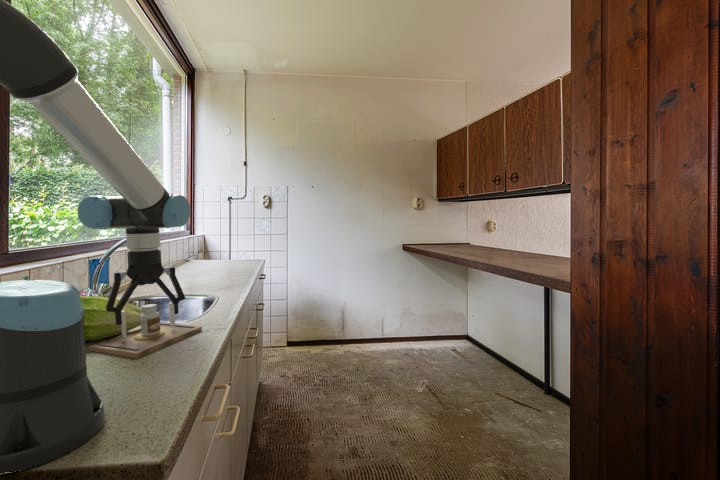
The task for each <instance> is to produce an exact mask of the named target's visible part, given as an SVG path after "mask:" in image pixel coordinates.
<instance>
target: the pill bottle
mask: <svg viewBox="0 0 720 480" xmlns="http://www.w3.org/2000/svg"><path fill="white" fill-rule="evenodd" d="M141 308H142V312H143V314H142V315H141V316H140V318H141V326H140V329H141V334H142V335H143V336H151V335H155V334H158V333H160V322H161V319H160V318H161V317H160V312H158V311H157V310H158V305H157V303H156V304H155V303H150V304H144V305H142V306H141Z"/></svg>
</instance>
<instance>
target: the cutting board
mask: <svg viewBox="0 0 720 480" xmlns="http://www.w3.org/2000/svg"><path fill="white" fill-rule="evenodd" d="M202 327H203V326H201V325H190V324H189V325H188V324H182V323H175V327H174V328H172V327H171V326H170V322H163V321H160V333H158V334H155V335H151V336H143V335H142V334H141V328H138V329H135V330H134V331H128V332H126V334H127V337H125V338H123V336H122V334H120V335H117V336H114V337H112V338H109V339H107V340H104V341H100V342H98V343H95V344H93V345H92V344H91V345H89V351H90V352H94V353H99V354H108V355H113V356H119V357H127V358H132V359H138V358H142V357H143V356H144V357H145V355H148V354H150V353H152V352H155V351H157V350H159V349H162V348H164V347H167V346H169V345H172V344H174V343H176V342H178V341H180V340H184V339H186V338H188V337H190V336H192V335H191V334H193V333H195V334H197V333H199V332H198V331H200V330H202ZM202 331H203V330H202ZM196 332H197V333H196ZM200 332H201V331H200ZM189 335H190V336H189ZM193 335H194V334H193ZM187 336H188V337H187ZM185 337H186V338H185Z"/></svg>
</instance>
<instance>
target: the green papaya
mask: <svg viewBox="0 0 720 480" xmlns="http://www.w3.org/2000/svg"><path fill="white" fill-rule="evenodd" d="M80 298H81V305H82V306H83V309H84V310H83V312H84V314H83V315H84V333H85V343H86V342H94V341H99V340H103V339H107V338H111V337H112V338H113V337H117V336H121V335H122V330H121V325H117V324H116V320H115V313H114V312H108V311H107V310H106V305H107V302H108V299H109V296H108V297H106V296H102V295H101V296H99V295H97V296H96V295H93V296H92V295H80ZM119 301H120V299H117V298H116V300H115V303H114V306H116V305H117V304H118V302H119ZM122 310H124V312H125V320H126V333H128V332H130V331H131V330H134V329H136V328H139V327H141V318H140V316H141V315H142V314H143V312H142V307H140V306H137V305H135V304H133V303H131V302H128V301H127V303H126V304H125V306H124V307H123V309H122Z"/></svg>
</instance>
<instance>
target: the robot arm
mask: <svg viewBox="0 0 720 480" xmlns="http://www.w3.org/2000/svg"><path fill="white" fill-rule="evenodd" d="M78 77H79V69H78V68H77V66H75V64H74V62H73V61H72V60H71V59H70V58H69V56H68V55H67V54H66V52H65V51H64V50H63V49H62V48H61V47H60V45H58V44H57V42H56V41H55V40H54V39H53V38H52V37H51V36H49V35H48V34H47V33H46V32H45V31H44V30H43V29H42V28H41V27H40V26H39V25H38V24H36V23H35V22H34V20H32V19H31V18H30V17H28V16H27V15H26V14H25V13H23V12H22V11H20V10H19V9H18V8H17V7H15V6H14V5H13V4H11V3H9V2H7V1H6V0H0V86H2V87H3V88H4V89H5V90H6V91H7V92H8V93H9V94H10V95H11V96H12V97H13V98H14V99H16V100H20V101H24V102H28V103H29V104H30V105H31V106H32V107H33V108H34V109H35V110H36V111H37V112H38V113H39V114H40V115H41V116H42V118H44V119H45V120H46V121H47V122H48V123H49V124H50V125H51V126H52V127H53V128H54V129H55V130H56V131H57V132H58V133H59V134H60V135H61V137H63V139H65V140H66V142H67V143H69V144H70V146H72V147H73V148H74V150H75V151H77V153H78V154H80V155H81V157H83V159H84V160H86V162H88V164H89V165H90V166H91V167H92V168H93V169H94V170H95V171H96V172H97V173H98V174H99V175H100V176H101V177H102V178H103V179H104V180H105V181H106V182H107V183H108V184H109V185H110V186H111V187H112V188H113V189H114V190H115V191H116V192H117V193H118V194H119V195H118V196H117V195H116V196H115V195H114V196H113V195H111V196H109V195H107V196H106V195H102V194H101V195H99V194H98V195H88V196H86V197H84V198H83V199H81V201H80V202H79V203H78V205H77V218H78V220H79V221H80V223H81V224H82V225H83V226H84V227H86V228H88V229H92V230H101V231H102V230H111V229H113V230H114V229H125V236H126V237H125V238H126V248H127V250H128V251H127V253H126V254H127V255H126V256H127V269H126V271H114V272H113V284H112V287H111V290H110V293H109V296H108V298H109V299H108V302H107V305H106V310H107V311H108V312H114V313H115V320H116V324H117V325H121V330H122V334H121V335H122V336H123V338H125V337H127V332H126V320H125V312H124V310H122V309H123V307H124V306H125V304H126V303H127V302H128V301H129V299H130V298H131V296H132V294H133V293H134V292H135V290H136V288H137V287H138V286H145V285H154V284H156V285H158V287H159V288H160V290H162V292H163V293H164V294H165V295H166V296H167V297H168V298H169V300H170V301H171V302H168V312H169V313H168V315H169V323H170V326H171V327H172V328H174V327H175V324H176V318H175V317H176V316H175V315H178V314H179V312H180V311H179V303H180V302H181V301H184V300H185V299H186V296H185V294H184V292H183V290H182V286H181V284H180V282H179V280H178V278H177V275H176V267H174V266H173V265H169V266H165V267H163V265H162V255H161V254H162V251H161V249H160V248H161V238H160V237H161V235H160V229H163V228H164V229H171V228H179V227H183V226H186V225H187V223H189V219H190V218H191V214H192V212H191V211H192V210H191V205H190V201H189V200H188V199H187V197H185V196H184V195H182V194H175V193H169V192H168V191H167V189H166V188H165V187H164V186H163V185H162V183H161V182H160V180H158V178H157V177H156V176H155V175H154V173H153V172H152V171H151V170H150V169H149V167H148V166H147V165H146V163H145V162H144V161H143V159H142V158H141V157H140V156H139V155H138V154H137V152H136V151H135V149H133V147H132V145H131V144H129V143H128V141H127V140H126V138H125V137H124V136H123V135H122V133H120V131H119V130H118V128H117V127H116V126H115V125H114V124H113V122H112V121H111V120H110V119H109V117H108V116H107V115H106V114H105V112H104V111H103V110H102V109H101V108H100V106H99V104H98V103H96V101H95V100H94V99H93V97H92V96H91V95H90V94H89V93H88V91H87V90H86V89H85V87H84V86H83V85H82V84H81V82H80V81H79V80H78ZM164 272H165V274H166V275H168V277H169V280H170V282H171V284H172V286H173V289H174V290H175V293H176V295H177V296H175V294H174V293H173V292H172V291H171V290H170V289H169V288H168V286H167V285H166V284H165V283H164V281H163V280H162V279H161V278H160V277H161V276H162V275H163V273H164ZM126 276H127V277H128V278H129V279H130V283H129V284H128V286H127V288H126V290H125V292H123V293H122V296H121V298H120V299H119V300H120V301H119V302H118V304H117V305H116V306H114V303H115V300H116V299H117V297H118V293H119V290H120V288H121V284H122V283H121V282H122V281H124V280H125V277H126ZM1 279H2V278H1V277H0V473H5V472H15V471H19V472H23V471H25V470H24V469H26V470H29V469H28V468H30V469H33V468H37V467H38V466H41V465H44V464H46V463H48V461H49V462H51V461H53V460H56V459H57V458H60V457H62V456H64V455H65V454H69V453H70V452H72V451H75V450H76V449H77V448H78V447H80V446H82V445H83V444H85V443H86V442H87V441H89V440H90V439H92V438H93V437H94V436H95V435H96V434H97V433H99V431H100V430H101V429H102V427H103V425H104V424H105V420H106V419H105V418H106V417H105V407H104V404H103V402H102V400H101V398H100V396H99V395H98V393H97V391H96V389H95V387H94V386H93V383H92V382H91V380H90V378H89V377H88V369H87V367H88V366H87V355H86V353H87V352H86V342H85V333H84V315H83V314H84V312H83V310H84V309H83V306H82V305H81V298H80V296H81V295H80V291H79V289H78V288H77V287H76V286H75V285H72V284H70V283H68V282H64V281H60V280H59V281H58V280H52V279H51V280H49V279H48V280H47V279H34V280H28V279H21V280H20V279H19V280H17V279H16V280H8V281H6V280H5V281H1ZM43 463H44V464H43ZM32 467H33V468H32ZM20 470H21V471H20ZM22 470H23V471H22Z"/></svg>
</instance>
